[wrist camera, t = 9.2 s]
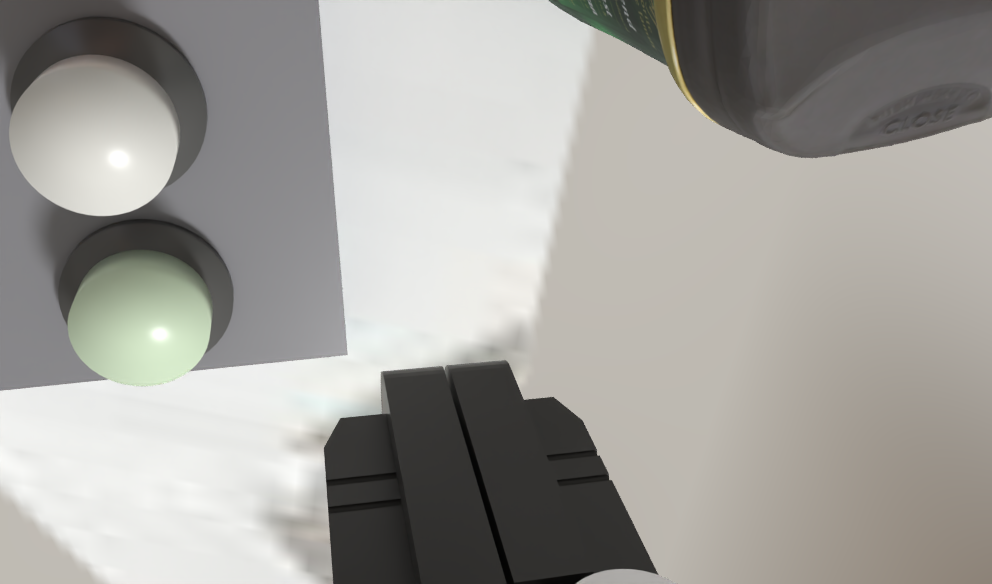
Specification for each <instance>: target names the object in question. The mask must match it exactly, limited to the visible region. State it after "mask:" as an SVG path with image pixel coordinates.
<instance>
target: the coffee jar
mask: <svg viewBox="0 0 992 584" xmlns="http://www.w3.org/2000/svg"><path fill="white" fill-rule="evenodd" d="M549 1H550V2H551V3H553V4H554V5H556V6H557V7H558V8H560V9H562V10H563V11H565V12H566V13H568V14H570V15H572V16H573V17H575V18H577V19H578V20H580V21H581V22H584V23H586V24H588V25H590V26H592V27H594V28H596V29H598V30H600V31H603V32H605V33H607V34H609V35H611V36H613V37H615V38H617V39H619V40H621V41H623V42H625V43H627V44H629V45H631V46H632V47H634V48H636V49H638V50H640V51H642V52H643V53H645V54H647V55H649V56H650V57H652V58H654V59H656V60H658V61H660V62H661V63H663V64H665V65H667V66H668V67H669V70H670V72H671V75H672V76H673V78H674V80H675V82H676V84H677V85H678V87H679V88H680V90H681V91H682V93H683V94H684V96H685V97H686V98H687V100H688V101H689V102H690V103H691V104H692V105H693V106H694V107H695V108H696V109H697V110H698V111H700V112H701V113H702V114H703V115H704V116H706V118H708V119H709V120H711V121H713V122H715V123H717V124H719V125H721V126H723V127H725V128H727V129H729V130H731V131H734V132H736V133H737V134H740V135H742V136H744V137H747V138H749V139H752V140H754V141H756V142H757V143H759V144H761V145H763V146H765V147H767V148H769V149H772V150H775V151H778V152H780V153H783V154H786V155H789V156H795V157H801V158H818V157H827V156H836V155H839V154H845V153H852V152H857V151H863V150H869V149H874V148H880V147H885V146H892V145H894V144H899V143H904V142H908V141H912V140H916V139H920V138H924V137H928V136H932V135H935V134H938V133H941V132H945V131H949V130H952V129H956V128H959V127H962V126H965V125H968V124H972V123H977V122H981V121H983V120H986V119H988V118H991V117H992V0H549Z"/></svg>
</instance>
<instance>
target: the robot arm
mask: <svg viewBox="0 0 992 584" xmlns="http://www.w3.org/2000/svg"><path fill="white" fill-rule="evenodd" d="M381 402H382V414H379V415H368V416H358V417H348V418H340V420H339V422H338V424H337V425H336V427H335V429H334V431H333V432H332V434H331V436H330V438H329V440H328V441H327V443H326V445H325V447H324V456H325V470H326V484H327V499H328V513H329V527H330V542H331V556H332V570H333V584H677V583H675V582H673V581H671V580H669V579H667V578H665V577H662V576H660V575H658V573H657V571H656V569H655V567H654V565H653V563H652V561H651V559H650V557H649V555H648V553H647V551H646V549H645V547H644V545H643V543H642V541H641V539H640V537H639V535H638V533H637V531H636V529H635V526H634V524H633V522H632V520H631V518H630V516H629V514H628V512H627V510H626V508H625V506H624V504H623V502H622V500H621V498H620V496H619V494H618V492H617V490H616V488H615V486H614V484H613V482H612V480H609V474H608V472H607V470H606V467H605V466H604V464H603V461H602V459H601V458H600V456H597V449H596V447H595V445H594V443H593V441H592V439H591V437H590V435H589V433H588V431H587V429H586V427H585V425H584V423H583V421H582V420H581V419H580V418H578V417H577V416H576V415H575V414H574V413H572V412H571V411H570V410H569V409H567V408H566V407H565V406H564V405H562V404H561V403H560V402H559V401H558V400H556V399H555V398H554V397H549V398H539V399H529V400H524V399H523V397H522V394H521V392H520V390H519V387H518V385H517V382H516V380H515V377H514V375H513V373H512V370H511V368H510V365H509V363H508V362H507V361H506V360H503V361H492V362H481V363H470V364H458V365H447V366H446V367H445V371H444V369H443V367H442V366H439V367H428V368H416V369H405V370H394V371H383V372H381Z"/></svg>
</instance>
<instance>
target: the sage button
mask: <svg viewBox="0 0 992 584" xmlns="http://www.w3.org/2000/svg"><path fill="white" fill-rule="evenodd" d="M212 314H213V305H212V299H211V294H210V292H209V290H208V287H207V285H206V284H205V282H204V280H203V279H202V278H201V277H200V275H199V274H198V273H197V272H196V271H195V270H194V269H193V268H192V267H190V266H189V265H188V264H186V263H185V262H183V261H181V260H180V259H178V258H176V257H174V256H171V255H169V254H165V253H162V252H158V251H153V250H130V251H124V252H120V253H116V254H114V255H111V256H109V257H107V258H105V259H103V260H101V261H100V262H99V263H97V264H96V265H95V266H93V267H92V268H91V269H90V270H89V271H88V273H87V274H86V275H85V277H84V278H83V280H82V282H81V284H80V286H79V289H78V291H77V294H76V296H75V299H74V301H73V303H72V306H71V309H70V312H69V316H68V334H69V338H70V341H71V344H72V346H73V348H74V350H75V352H76V353H77V355H78V356H79V358H80V359H81V360H82V361H83V362H84V363H85V364H86V365H87V366H88V367H89V368H90V369H92V370H93V371H94V372H96V373H97V374H99V375H101V376H103V377H105V378H107V379H109V380H112V381H114V382H117V383H121V384H125V385H132V386H153V385H160V384H164V383H167V382H170V381H173V380H175V379H177V378H179V377H181V376H183V375H185V374H186V373H187V372H189V371H190V370H191V369H192V368H193V367H195V366H196V365H197V363H198V362H199V361H200V360H201V358H202V357H203V355H204V353H205V351H206V349H207V346H208V343H209V338H210V330H211V323H212Z"/></svg>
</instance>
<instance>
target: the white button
mask: <svg viewBox="0 0 992 584" xmlns="http://www.w3.org/2000/svg"><path fill="white" fill-rule="evenodd" d="M9 140H10V146H11V151H12V154H13V157H14V160H15V162H16V164H17V166H18V168H19V170H20V171H21V173H22V174H23V176H24V177H25V179H26V180H27V181H28V182H29V183H30V184H31V186H32V187H34V188H35V189H36V190H37V191H38V192H39V193H40V194H41V195H43V196H44V197H45V198H47V199H48V200H50V201H51V202H53V203H55V204H57V205H59V206H61V207H63V208H65V209H68V210H71V211H74V212H77V213H81V214H86V215H93V216H112V215H119V214H123V213H127V212H130V211H133V210H135V209H138V208H140V207H141V206H143V205H145V204H147V203H148V202H149V201H151V200H152V199H153V198H155V197H156V196H157V195H158V194H159V193H160V191H161V190H162V189H163V188H164V186H165V185H166V183H167V181H168V179H169V178H170V175H171V173H172V170H173V167H174V163H175V160H176V156H177V153H178V149H179V144H180V124H179V120H178V116H177V113H176V110H175V107H174V105H173V103H172V101H171V99H170V98H169V96H168V95H167V93H166V92H165V90H164V89H163V88H162V87H161V86H160V85H159V83H158V82H157V81H156V80H155V79H153V78H152V77H151V76H150V75H149V74H147V73H146V72H145V71H143V70H142V69H140V68H138V67H137V66H135V65H133V64H131V63H129V62H126V61H124V60H121V59H118V58H114V57H110V56H104V55H79V56H74V57H70V58H66V59H64V60H61V61H59V62H57V63H55V64H53V65H51V66H50V67H48V68H47V69H46V70H44V71H43V72H42V73H41V74H40V75H39V76H38V77H37V78H36V79H35V80H34V82H33V83H32V84H31V85H30V86H29V87H28V88H27V90H26V91H25V92H24V93H23V94H22V96H21V97H20V99H19V100H18V102H17V103H16V106H15V108H14V110H13V113H12V116H11V119H10V127H9Z"/></svg>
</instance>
